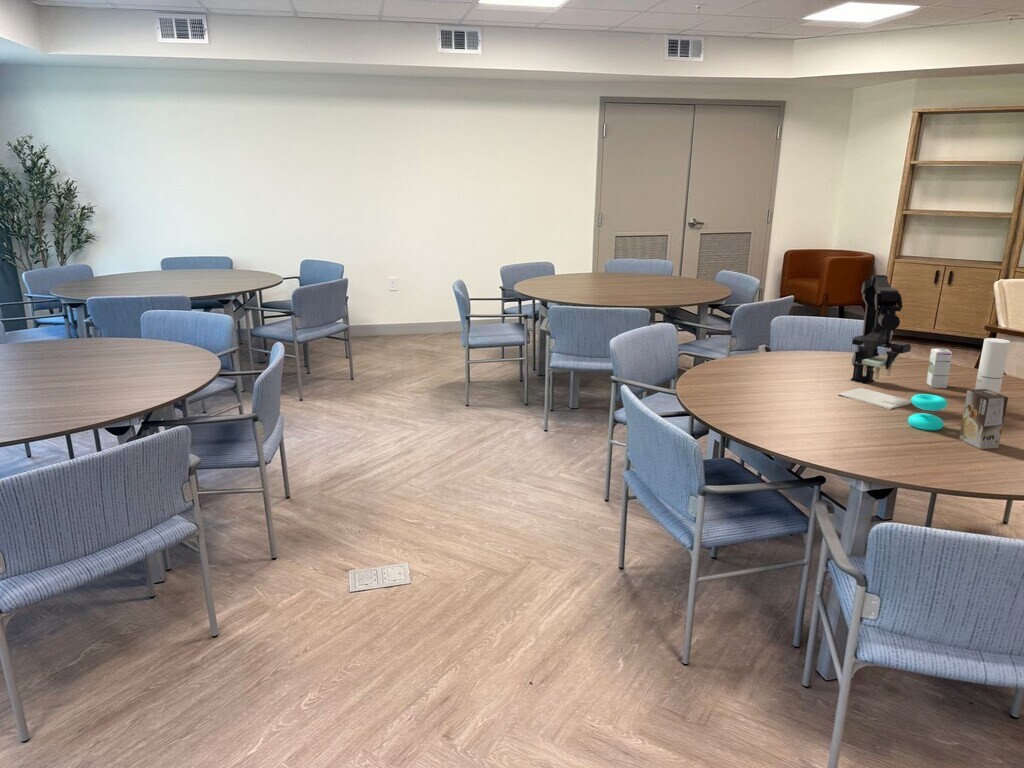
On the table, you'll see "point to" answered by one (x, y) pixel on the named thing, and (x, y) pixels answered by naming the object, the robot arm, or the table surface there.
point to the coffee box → (983, 418)
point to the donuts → (927, 420)
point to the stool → (876, 365)
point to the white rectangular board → (876, 398)
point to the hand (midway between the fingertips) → (877, 367)
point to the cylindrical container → (992, 364)
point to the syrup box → (939, 368)
